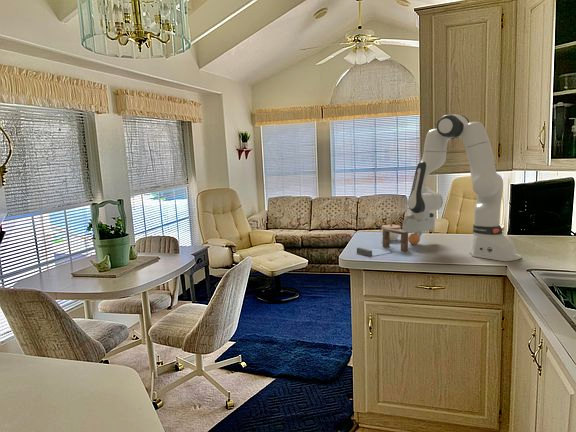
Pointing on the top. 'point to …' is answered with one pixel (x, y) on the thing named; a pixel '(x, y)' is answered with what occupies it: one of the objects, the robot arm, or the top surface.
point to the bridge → (403, 233)
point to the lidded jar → (392, 235)
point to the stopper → (364, 251)
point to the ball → (414, 239)
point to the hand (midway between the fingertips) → (417, 239)
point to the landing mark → (378, 252)
